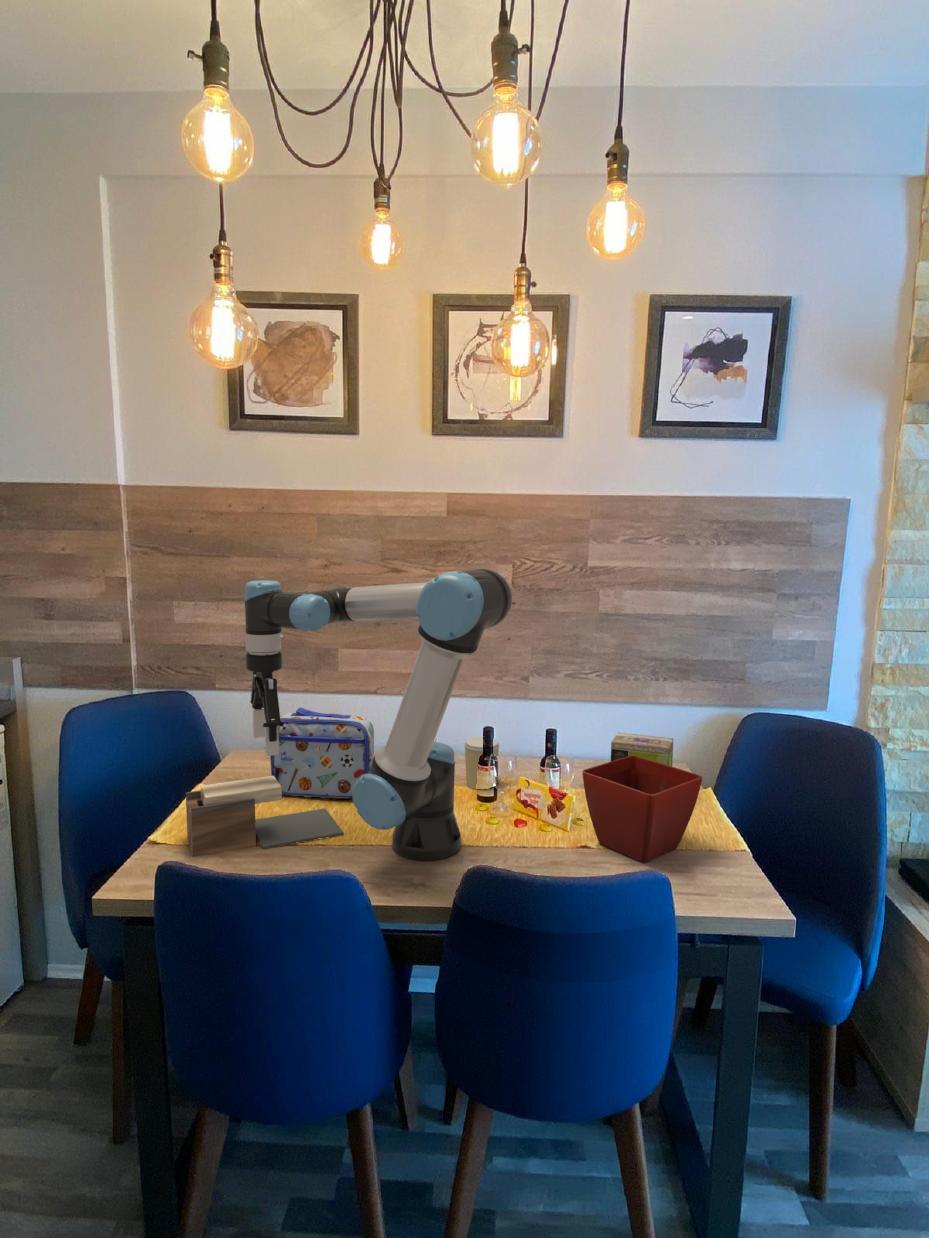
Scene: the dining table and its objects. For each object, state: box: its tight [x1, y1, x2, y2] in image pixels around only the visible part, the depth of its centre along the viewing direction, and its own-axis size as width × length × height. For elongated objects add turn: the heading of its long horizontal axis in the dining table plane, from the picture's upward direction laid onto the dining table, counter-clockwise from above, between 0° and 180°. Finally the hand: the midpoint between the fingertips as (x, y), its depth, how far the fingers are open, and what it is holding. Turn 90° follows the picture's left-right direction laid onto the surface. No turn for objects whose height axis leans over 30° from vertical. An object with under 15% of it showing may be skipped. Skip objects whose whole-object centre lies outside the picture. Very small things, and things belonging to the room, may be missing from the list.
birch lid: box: [200, 775, 283, 806], centre depth 166 cm, size 8×16×3 cm, turn 116°
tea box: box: [610, 732, 674, 767], centre depth 198 cm, size 15×10×15 cm, turn 69°
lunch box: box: [269, 707, 375, 800], centre depth 193 cm, size 28×10×22 cm, turn 84°
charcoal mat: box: [255, 808, 345, 850], centre depth 173 cm, size 15×18×1 cm
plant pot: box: [582, 755, 703, 863], centre depth 167 cm, size 19×19×17 cm
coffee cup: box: [463, 736, 500, 790], centre depth 202 cm, size 9×9×12 cm
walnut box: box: [185, 789, 257, 857], centre depth 165 cm, size 10×13×10 cm
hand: (265, 745), depth 167 cm, fingers open, 13 cm apart
